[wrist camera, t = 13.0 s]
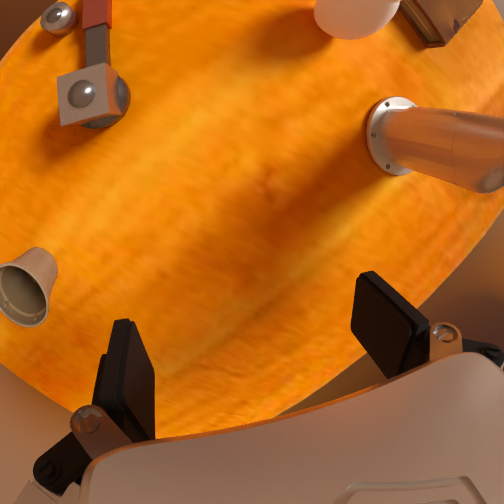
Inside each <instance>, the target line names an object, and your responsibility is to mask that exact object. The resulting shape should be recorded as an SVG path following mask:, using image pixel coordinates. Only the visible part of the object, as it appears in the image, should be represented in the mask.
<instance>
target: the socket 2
mask: <svg viewBox="0 0 504 504" xmlns="http://www.w3.org/2000/svg"><path fill="white" fill-rule="evenodd" d="M57 90H58V104H59V114H60V124H61V126H73V125H82V124H86V123H90V122H93V121H97V120H101V119H105V118H109V117H113V116H117V115H121V106H120V95H119V83H118V72H117V71H115V70H114V69H113V68H112V67H110V66H109V65H108V64H106V63H101V64H97V65H94V66H90V67H87V68H84V69H80V70H77V71H74V72H71V73H68V74H65V75H62V76H59V77H57Z"/></svg>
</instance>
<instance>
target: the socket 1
mask: <svg viewBox="0 0 504 504" xmlns="http://www.w3.org/2000/svg"><path fill="white" fill-rule="evenodd" d="M78 20H79V18H78V15H77V13H76V12H75V11H73V10H72V9H71V8H70V7H69V6H68V5H67V4H66V3H64V2H57V3H55V4H53V5H51V6H50V7H48V8H47V9H46V10H45V12H44V13H43V15H42V17H41V21H40V24H41V27H42V28H43V29H45V30H47V31H48V32H50V33H51V34H53V35H55V36H56V37H64V36H66V35H68V34H70V33H71V32H72V31H73V30H74V29H75V28H76V26H77V24H78Z"/></svg>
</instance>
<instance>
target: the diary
mask: <svg viewBox="0 0 504 504" xmlns="http://www.w3.org/2000/svg"><path fill="white" fill-rule="evenodd" d="M482 2H483V0H401V1H400V3H399V7H398V9H399V10H400V12H401V13H402V14H403V15H404V17H405V18H406V19H407V21H408V22H409V23H410V25H411V26H412V27H413V29H414V30H415V31H416V33H417V34H418V36H419V37H420V38H421V40H422V41H423V43H424V44H425V46H426V47H428V48H436V47H444V46H445V45H446V44H447V43H448V42H449V41H450V40H451V39H452V37H453V36H454V35H455V34H456V33H457V32H458V31H459V30H460V28H461V27H462V26H463V25H464V24H465V23H466V22H467V20H468V19H469V18H470V17H471V16H472V15H473V14H474V13H475V11H476V10H477V9H478V8H479V7H480V6H481V5H482Z"/></svg>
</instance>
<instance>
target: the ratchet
mask: <svg viewBox="0 0 504 504" xmlns="http://www.w3.org/2000/svg"><path fill="white" fill-rule="evenodd" d="M109 28H112V0H83V16H82V29H83V30H84V31H85V43H86V68H87V67H90V66H94V65H97V64H101V63H106V64H108V65H109V66H110V67H111V60H110V34H109ZM118 83H119V95H120V106H121V115H117V116H113V117H109V118H105V119H101V120H97V121H93V122H90V123H86V124H82V126H84V127H86V128H92V129H94V128H106V127H109V126H112V125H114V124H115V123H117V122H118V121H119V120H120V119H121V118H122V117H123V116H124V115H125V113H126V112H127V110H128V107H129V104H130V90H129V87H128V85H127V84H126V82H125V81H124V80H123V79H122V78H120V77H119V76H118Z"/></svg>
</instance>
